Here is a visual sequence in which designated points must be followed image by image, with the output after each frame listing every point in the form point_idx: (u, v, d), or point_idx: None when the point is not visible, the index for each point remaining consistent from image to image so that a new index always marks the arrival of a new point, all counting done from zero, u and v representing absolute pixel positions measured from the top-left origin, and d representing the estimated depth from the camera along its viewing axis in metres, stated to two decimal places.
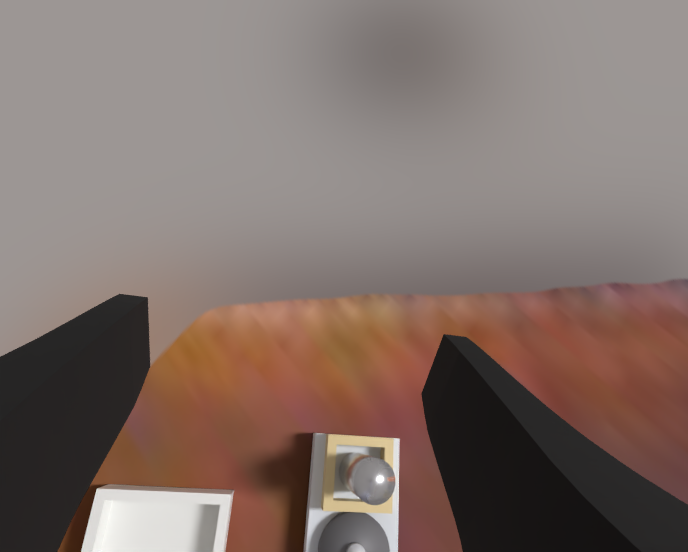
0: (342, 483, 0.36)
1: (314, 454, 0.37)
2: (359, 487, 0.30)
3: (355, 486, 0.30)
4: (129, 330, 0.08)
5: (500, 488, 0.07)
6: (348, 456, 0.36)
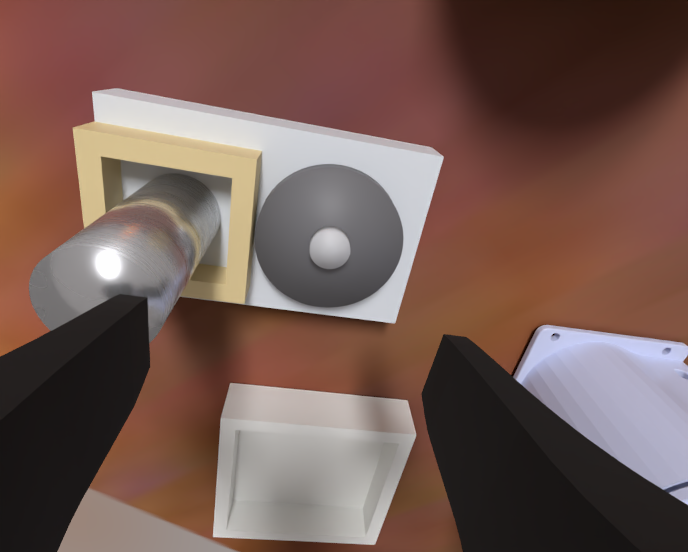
0: None
1: None
2: None
3: None
4: (129, 330, 0.08)
5: (500, 488, 0.07)
6: None
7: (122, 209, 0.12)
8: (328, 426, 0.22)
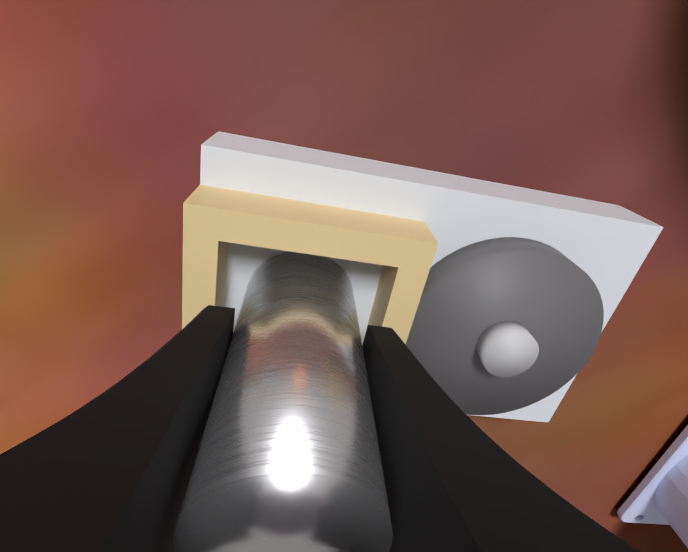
0: None
1: None
2: None
3: None
4: (225, 341, 0.09)
5: (395, 481, 0.07)
6: None
7: (282, 346, 0.08)
8: None
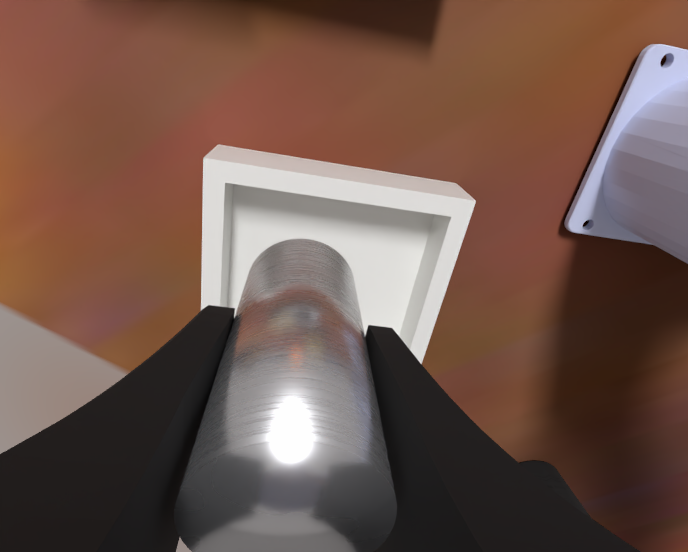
0: None
1: None
2: None
3: None
4: (225, 341, 0.09)
5: (395, 481, 0.07)
6: None
7: (272, 326, 0.08)
8: (355, 181, 0.16)
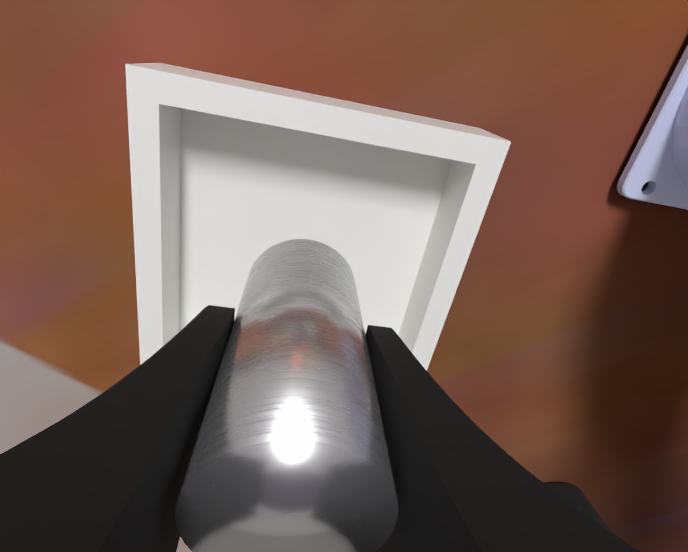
0: None
1: None
2: None
3: None
4: (225, 341, 0.09)
5: (395, 481, 0.07)
6: None
7: (272, 327, 0.08)
8: (345, 108, 0.11)
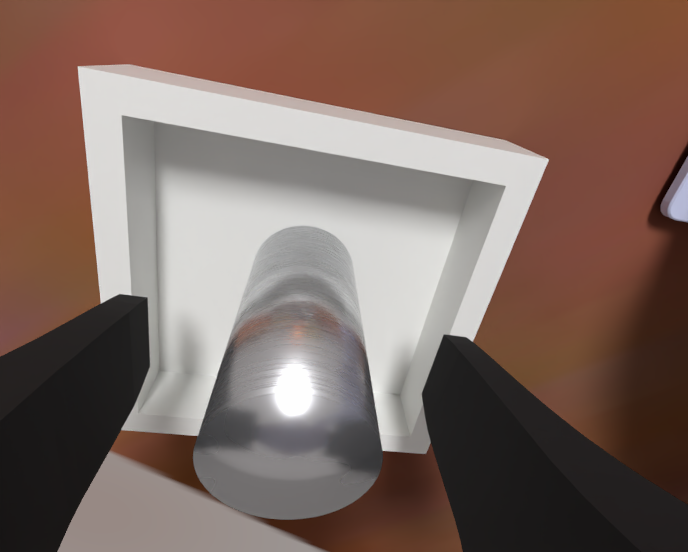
0: None
1: None
2: (318, 503, 0.08)
3: (314, 513, 0.08)
4: (129, 330, 0.08)
5: (500, 488, 0.07)
6: None
7: (275, 302, 0.09)
8: (349, 119, 0.09)
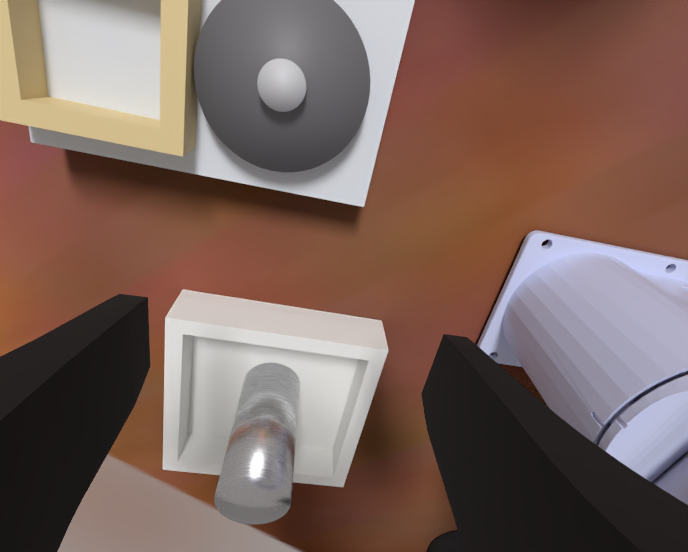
0: None
1: (82, 149, 0.16)
2: (265, 518, 0.18)
3: (264, 522, 0.18)
4: (129, 330, 0.08)
5: (500, 488, 0.07)
6: None
7: (251, 425, 0.19)
8: (289, 335, 0.19)
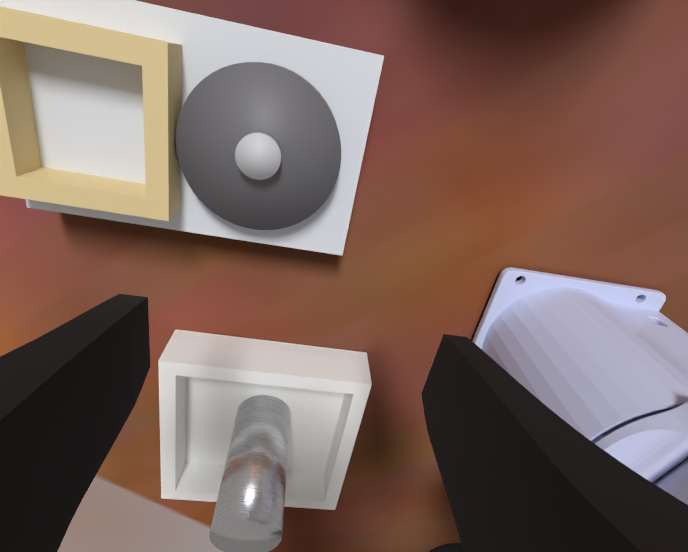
0: None
1: (75, 212, 0.17)
2: (259, 549, 0.19)
3: None
4: (129, 330, 0.08)
5: (500, 488, 0.07)
6: None
7: (242, 460, 0.20)
8: (276, 373, 0.20)
